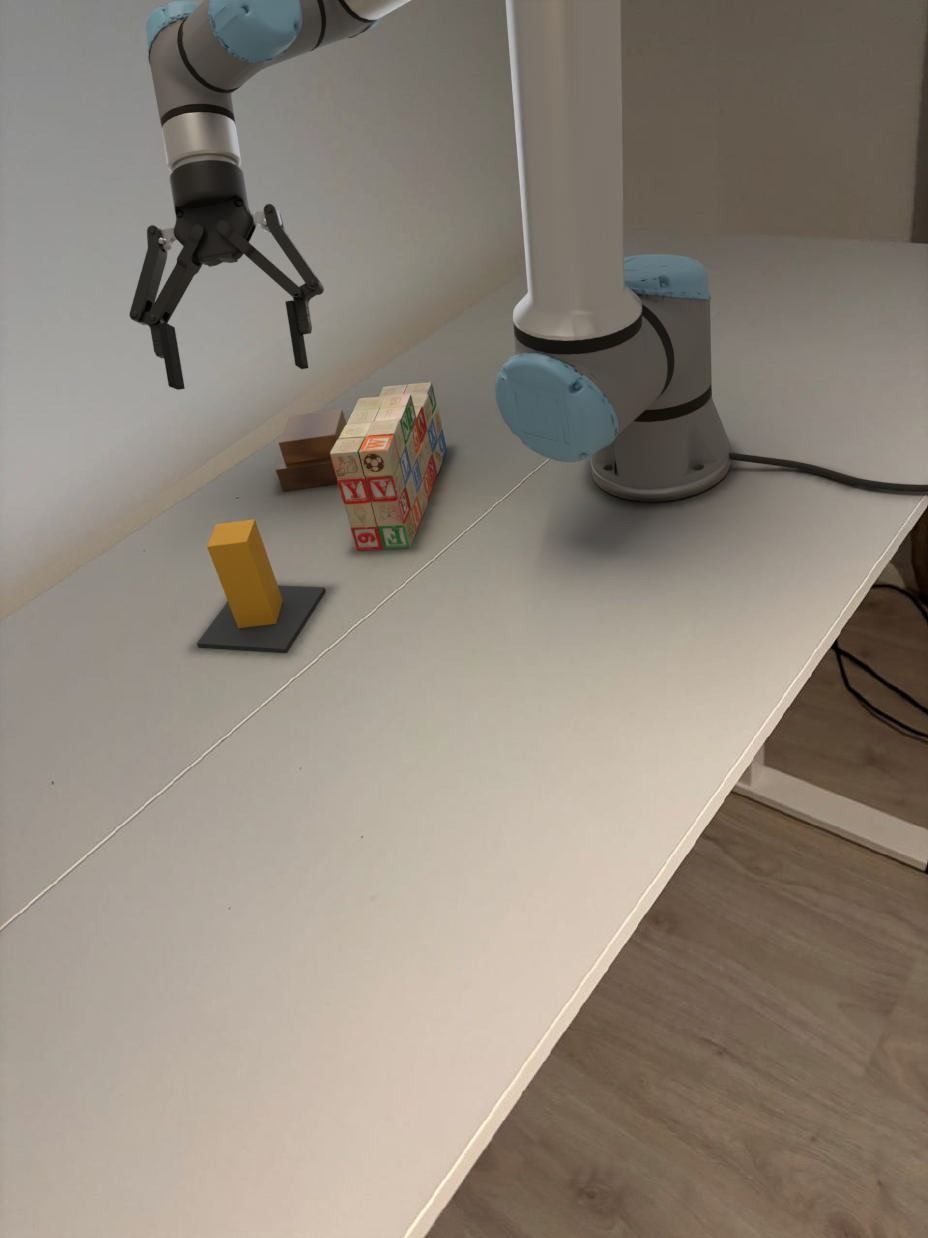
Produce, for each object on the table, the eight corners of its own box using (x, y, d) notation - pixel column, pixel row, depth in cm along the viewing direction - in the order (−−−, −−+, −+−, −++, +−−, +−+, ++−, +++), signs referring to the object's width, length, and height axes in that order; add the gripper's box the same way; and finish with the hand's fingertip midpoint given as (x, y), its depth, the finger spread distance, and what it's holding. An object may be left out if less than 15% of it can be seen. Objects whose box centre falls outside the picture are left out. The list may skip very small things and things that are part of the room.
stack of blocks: (399, 453, 128) (377, 361, 121) (448, 450, 127) (429, 356, 119) (356, 551, 112) (328, 451, 104) (411, 549, 110) (386, 447, 103)
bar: (283, 600, 106) (255, 518, 100) (276, 624, 103) (246, 541, 97) (246, 604, 106) (215, 523, 100) (238, 628, 103) (206, 546, 97)
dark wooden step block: (361, 445, 132) (350, 403, 128) (353, 481, 124) (342, 437, 121) (294, 455, 133) (281, 413, 129) (282, 491, 126) (268, 447, 122)
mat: (326, 590, 107) (324, 587, 106) (286, 652, 99) (285, 648, 99) (242, 587, 110) (240, 583, 110) (197, 647, 103) (196, 643, 102)
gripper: (331, 161, 109) (361, 363, 110) (106, 203, 111) (139, 400, 113) (314, 134, 101) (348, 351, 103) (74, 180, 104) (110, 391, 105)
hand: (239, 377), depth 108 cm, fingers open, 13 cm apart
